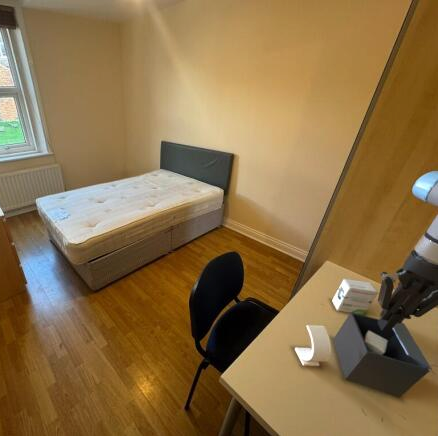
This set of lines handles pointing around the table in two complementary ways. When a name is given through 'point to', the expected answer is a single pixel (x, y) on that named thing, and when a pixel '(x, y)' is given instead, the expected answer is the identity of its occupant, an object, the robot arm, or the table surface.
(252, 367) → the table surface
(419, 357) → the panel
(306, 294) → the table surface
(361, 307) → the ink box
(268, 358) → the table surface
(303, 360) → the headphone stand
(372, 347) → the box
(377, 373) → the grey container
